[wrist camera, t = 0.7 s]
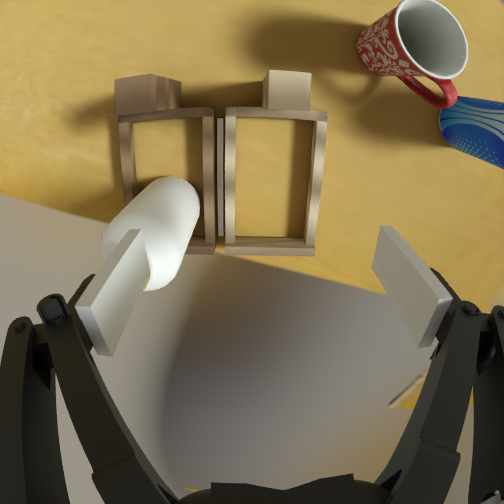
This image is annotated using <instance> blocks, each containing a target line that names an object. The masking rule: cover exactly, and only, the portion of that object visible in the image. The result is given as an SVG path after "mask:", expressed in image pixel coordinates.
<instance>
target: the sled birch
mask: <svg viewBox="0 0 504 504" xmlns="http://www.w3.org/2000/svg"><path fill="white" fill-rule="evenodd" d="M311 74H312V73H305V72H295V71H283V70H269V71H268V73H267V75H266V76H265V78H264V79H263V84H262V107H226V117H225V238H226V244H225V255H260V256H315V246H314V242H315V235H316V227H317V219H318V211H319V202H320V193H321V184H322V175H323V164H324V153H325V142H326V129H327V115H328V112H321V111H312V110H310V96H311ZM236 116H238V117H272V118H290V119H303V120H314V124H313V139H312V152H311V165H310V176H309V187H308V198H307V208H306V217H305V226H304V235H303V238H262V237H235V178H236Z"/></svg>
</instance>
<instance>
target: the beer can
mask: <svg viewBox="0 0 504 504" xmlns="http://www.w3.org/2000/svg"><path fill="white" fill-rule="evenodd" d="M439 127H440V130H441V133H442V135H443V137H444V139H445V141H446V142H447V143H448V145H450V146H451V147H452V148H454V149H456V150H459V151H461V152H464V153H467V154H469V155H472V156H474V157H477V158H479V159H482V160H484V161H486V162H489V163H491V164H493V165H496V166H498V167H500V168H502V169H504V103H502V102H496V101H490V100H484V99H477V98H470V97H461V96H457V101H456V103H455V104H454V105H452V106H451V107H449V108H445V109H442V108H441V110H440V113H439Z"/></svg>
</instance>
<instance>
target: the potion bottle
mask: <svg viewBox="0 0 504 504" xmlns="http://www.w3.org/2000/svg"><path fill="white" fill-rule="evenodd" d="M200 207H201V204H200V200H199V196H198V194H197V192H196V190H195V189H194V187H193V186H192V185H190V184H189V183H188V182H187V181H185V180H183V179H181V178H179V177H172V176H166V177H161V178H158V179H156V180H155V181H153V182H151V183H150V184H149V185H148V186H147V187H146V188H145V189H144V190H143V191H142V192H140V193H139V194H138V195H137V196H136V197H135V198H134V199H133V200H132V201H131V202H130V203H129V204H128V205H127V206H126V207H125V208H124V209H123V210H122V211H121V212H120V213H119V214H118V215H117V216H116V217H115V218H114V219H113V220H112V221H111V222H110V223H109V225H108V226H107V227H106V229H105V230H104V233H103V236H102V240H101V244H100V246H101V256H102V258H103V261H104V262H105V261H106V260H107V258H108V257H109V255H110V254H111V253H112V251H113V250H114V249H115V247H116V246H117V245H118V243H119V242H120V241H121V239H122V238H123V237H124V236H125V234H126V233H127V232H128V230H129V229H142V232H143V238H144V243H145V248H146V253H147V257H148V262H149V267H150V273H149V275H148V278H147V280H146V282H145V284H144V286H143V288H142V290H141V292H142V291H150V290H157V289H159V288H161V287H164V286H166V285H167V284H168V283H169V282H170V281H171V280H172V279H173V278H174V277H175V276H176V273H177V271H178V269H179V267H180V264H181V262H182V259H183V256H184V254H185V251H186V248H187V246H188V243H189V241H190V238H191V235H192V233H193V230H194V228H195V225H196V223H197V220H198V218H199V215H200Z"/></svg>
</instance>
